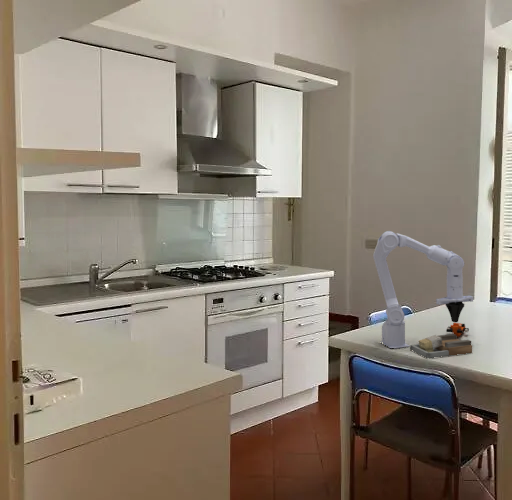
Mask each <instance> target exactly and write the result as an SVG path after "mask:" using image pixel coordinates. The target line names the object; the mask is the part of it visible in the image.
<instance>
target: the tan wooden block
mask: <svg viewBox="0 0 512 500" xmlns="http://www.w3.org/2000/svg"><path fill="white" fill-rule="evenodd" d="M426 338H427V337H426ZM426 338H422V339H420V340H419V339H418V344H419V346H420V348H421V349H423V350H425V351H427V352H433V346H432V341H430V340H428V339H426Z"/></svg>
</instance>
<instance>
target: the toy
mask: <svg viewBox="0 0 512 500" xmlns="http://www.w3.org/2000/svg"><path fill="white" fill-rule="evenodd" d="M469 330H470V329H469V327H466V324H465V323H461V322H460V323H459V322H453V323H452V324H450V326H448V327H447V328H446V330H445V331H446V333H452V334H455V335H457V337H461V335H462V334H463V333H469Z"/></svg>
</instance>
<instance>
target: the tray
mask: <svg viewBox="0 0 512 500" xmlns="http://www.w3.org/2000/svg"><path fill="white" fill-rule="evenodd" d="M409 345H410V347H409V349H411V350H413V351H414V352H413V351H412V352H413V353H415V352H416V353H415V354H417V353H418V354H417V355H419V354H420V355H419V356H421V355H422V356H421V357H423V356H424V357H423V358H425V357H426V358H425V359H427V358H432V359H435V358H434V357H440V358H442V357H441V356H448V357H450V356H449V351H448V350H445V351H440V350H437V349H435V348H433V352H427V351H425V350H423V349H421V348H420V346H419V343H416V344H409ZM411 350H410V351H411Z"/></svg>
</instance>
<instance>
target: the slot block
mask: <svg viewBox="0 0 512 500" xmlns="http://www.w3.org/2000/svg"><path fill="white" fill-rule="evenodd" d="M438 336H439V337H441V339H442V344H443V346H439V347H436V348H435V349H437V350H440V351H445V350H448V351H449V355H456V356H458V355H457V354H464V355H467V354H466V353H472V354H473V344H472V340H470V339H462V340H460V339H458V338H457V337H458V336H457V335H455V334H454V333H449V334H440V335H438Z"/></svg>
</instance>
